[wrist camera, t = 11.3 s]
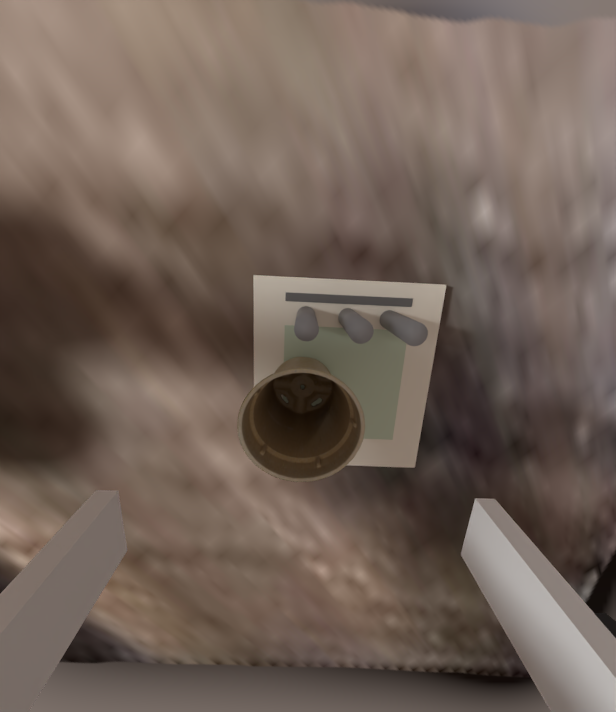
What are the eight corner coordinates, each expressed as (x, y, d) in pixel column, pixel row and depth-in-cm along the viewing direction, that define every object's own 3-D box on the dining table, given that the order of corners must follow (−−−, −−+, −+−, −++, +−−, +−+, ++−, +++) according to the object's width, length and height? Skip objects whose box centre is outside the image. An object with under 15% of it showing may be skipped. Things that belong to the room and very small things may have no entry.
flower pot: (320, 440, 31) (326, 500, 23) (241, 403, 30) (216, 453, 22) (365, 367, 29) (389, 404, 21) (281, 324, 28) (272, 345, 20)
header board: (255, 455, 33) (240, 512, 26) (255, 275, 28) (236, 275, 20) (411, 461, 34) (443, 518, 26) (440, 284, 28) (493, 288, 20)
